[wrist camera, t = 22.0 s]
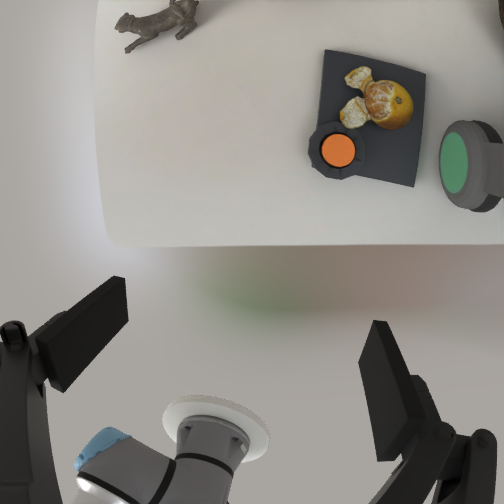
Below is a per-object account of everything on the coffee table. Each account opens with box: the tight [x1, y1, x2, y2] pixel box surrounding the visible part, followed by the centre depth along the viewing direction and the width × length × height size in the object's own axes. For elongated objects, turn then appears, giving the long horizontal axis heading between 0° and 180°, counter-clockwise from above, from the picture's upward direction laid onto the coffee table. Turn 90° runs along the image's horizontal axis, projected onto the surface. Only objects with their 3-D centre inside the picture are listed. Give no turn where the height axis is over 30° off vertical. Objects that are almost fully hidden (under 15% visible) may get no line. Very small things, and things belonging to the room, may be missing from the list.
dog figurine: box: [115, 0, 199, 54], centre depth 28 cm, size 12×6×7 cm, turn 99°
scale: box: [308, 50, 426, 187], centre depth 31 cm, size 16×14×4 cm
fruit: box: [340, 66, 413, 130], centre depth 28 cm, size 8×8×4 cm
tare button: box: [322, 134, 355, 167], centre depth 31 cm, size 4×4×2 cm
